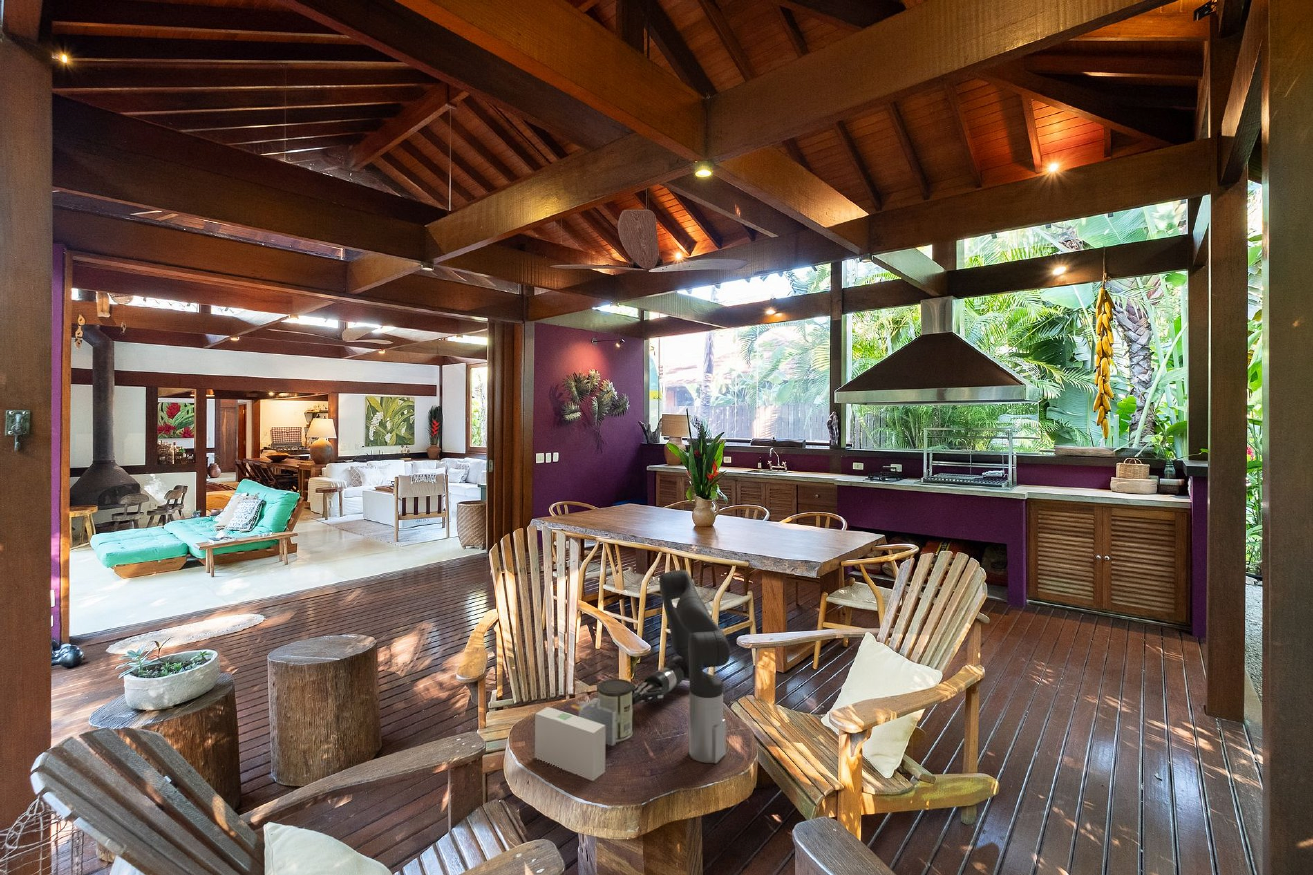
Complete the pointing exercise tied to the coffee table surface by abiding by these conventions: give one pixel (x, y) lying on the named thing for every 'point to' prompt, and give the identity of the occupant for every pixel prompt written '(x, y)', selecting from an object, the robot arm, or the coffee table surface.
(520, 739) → the coffee table surface
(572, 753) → the gauge housing
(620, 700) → the coffee can
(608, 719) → the grey t-shaped bracket
